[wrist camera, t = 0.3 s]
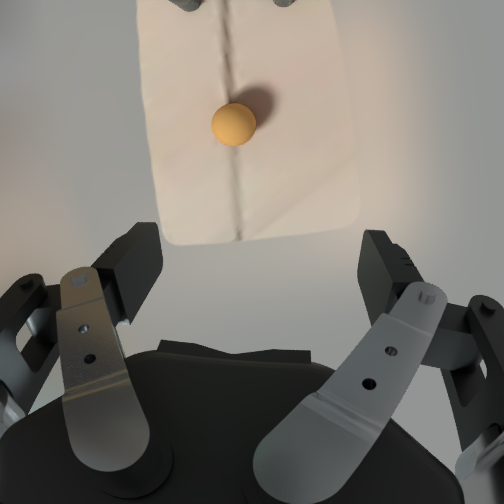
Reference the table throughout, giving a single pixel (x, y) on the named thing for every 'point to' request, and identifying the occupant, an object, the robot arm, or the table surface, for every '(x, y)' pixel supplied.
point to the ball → (233, 124)
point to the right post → (283, 2)
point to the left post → (187, 4)
